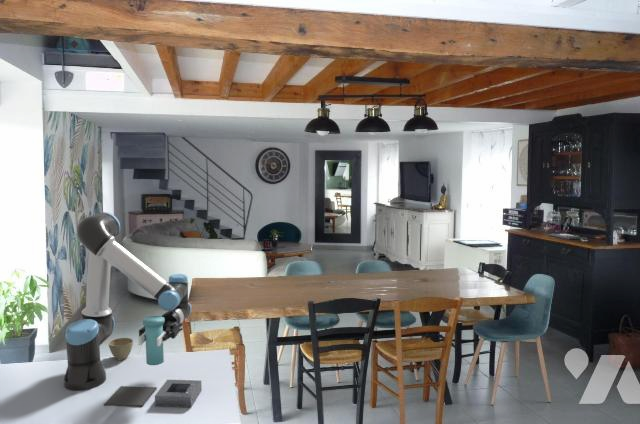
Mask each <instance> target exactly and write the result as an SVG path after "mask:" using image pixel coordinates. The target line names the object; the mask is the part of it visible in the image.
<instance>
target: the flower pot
mask: <svg viewBox="0 0 640 424" xmlns="http://www.w3.org/2000/svg"><path fill="white" fill-rule="evenodd" d="M133 344H134V339H132V338H129V337H118V338H115V339H114V338H113V339H112V340H110V341H108V348H109V351H110V353H111V355H112V356H113V357H114V359H115V360H121V361H122V360H125V359H127V358H128V357H129V356H130V354H131V351H132V349H133V346H134V345H133Z"/></svg>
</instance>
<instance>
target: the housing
mask: <svg viewBox="0 0 640 424" xmlns="http://www.w3.org/2000/svg"><path fill="white" fill-rule="evenodd" d="M202 388H203V387H202V380H198V379H197V380H193V379H191V380H187V379H166V380H165V382H164V383H163V385H162V386H161V387H160V389H159V390H158V391H157V392H156V394H155V395H154V406H155V407H158V408H159V407H161V408H187V409H188V408H192V407H193V406H194V404H195V403H196V401H197V399H198V397H199V396H200V394H201V392H202Z"/></svg>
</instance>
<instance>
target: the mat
mask: <svg viewBox="0 0 640 424" xmlns="http://www.w3.org/2000/svg"><path fill="white" fill-rule="evenodd" d="M157 387H158V386H134V385H133V386H132V385H131V386H126V385H121V386H119V387H118V388H117V389H116V391H115V392H114V393H113V394H112V395H111V396H110V397H109V398H108V399H107V400H106V401H105V402H104V403H103V406H105V407H106V406H107V407H108V406H109V407H111V406H112V407H135V408H136V407H138V408H139V407H140V408H141V407H144V405H145V404H146V403H147V401H149V399H150V398H151V396H153V394H155V391H156V390H157V389H158V388H157Z"/></svg>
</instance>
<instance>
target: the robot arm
mask: <svg viewBox="0 0 640 424" xmlns="http://www.w3.org/2000/svg"><path fill="white" fill-rule="evenodd" d="M120 232H121V223H120V221H119V219H118V218H117V216H115V215H114V214H112V213H110V212H108V211H107V212H105V211H104V212H96V213H95V214H92V215H91V216H87V217H84V219H82V220H81V221H80V222H79V223H78V225H77V227H76V235H77V238H78V241H79V242H80V243H81V244H82V245H83V247H84V248H86V249H87V250H88V258H87V260H88V261H87V275H86V277H87V278H86V280H87V282H86V295H85V296H86V298H85V299H86V300H85V307H84V308H83V309H82V310H81V317H80V319H79V320H76V321H73V322H72V323H70V324H68V325H67V327H66V329H65V343H66V344H65V347H66V356H67V359H66V361H67V367H66V370H65V374H64V378H63V387H64V388H66V389H67V390H70V391H84V390H89V389H93V388H96V387H98V386H101V385H102V384H104V383H105V381H106V380H107V372H106V370H105V368H104V365H103V363H102V361H101V352H100V346H101V345H102V344H103V343H105V341H106V340H107V339H108V338H109V337H110V336H111V335H112V333H113V331H114V329H115V318H114V317H113V316H112V315H113V314H112V313H113V310H112V308H111V307H110V306H109V301H110V287H111V286H110V285H111V284H110V283H111V268H112V267H111V265H112V266H113V267H115V269H117V270H118V271H119V272H121V273H122V274H124V275H125V276H126V277H127V278H128V279H130V280H131V281H132V282H134V283H135V284H136V285H137V286H139V288H141V289H143V290H144V291H145V292H147V293H148V294H149V295H151V296H152V298H154V299H155V300H156V301H158V305H159V307H160V308H161V309H162V310H163V311H165V312H164V313H163V314H162V315H161V317H164V318H165V323H164V324H163V333H162V334H161V335H160V336H159V337H158V338H157V346H160V345H161V344H162V343H163V344H164V342H166V341H167V340H169V339H170V338H171V339H173V340H174V339H175V338H176V337H177V336H178V335H179V333H180V332H181V331H183V322H184V321H185V320H186V319H188V317H189V316H190V315H191V313H192V305H191V303H190V302H189V280H188V275H186V274H182V273H174V274H172V275H169V277H168V281H167V280H166V279H164V278H163V277H162V276H160V275H159V274H158V273H156V272H155V271H154V270H153V269H151V268H150V267H149V266H148V265H146V263H144V262H143V261H141V260H140V259H139V258H137V257H136V256H135V255H133V254H132V253H131V252H130V251H129V250H127V249H126V248H125V247H123V245H121V244H120V243H118V242H117V237H118V236H119V234H120ZM137 339H138V340H137V341H138V346H142V345H143V344H144V343H146V336H145V326H144V325H143V327H142V328H140V329H139V330H138V338H137Z"/></svg>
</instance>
